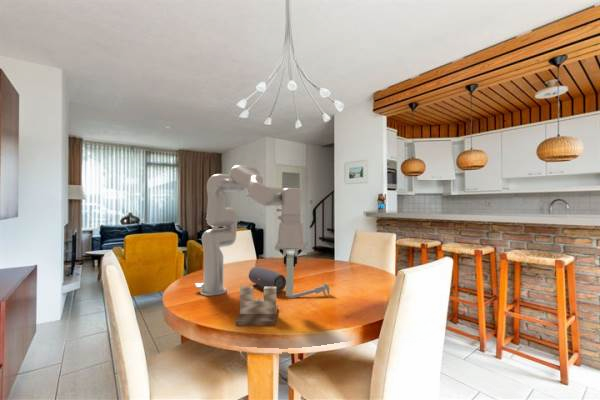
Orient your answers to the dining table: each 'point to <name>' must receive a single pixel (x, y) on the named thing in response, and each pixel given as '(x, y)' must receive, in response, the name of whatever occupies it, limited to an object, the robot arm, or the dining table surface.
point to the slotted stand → (257, 307)
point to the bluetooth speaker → (267, 278)
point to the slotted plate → (290, 273)
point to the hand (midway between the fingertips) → (290, 265)
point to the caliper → (312, 291)
